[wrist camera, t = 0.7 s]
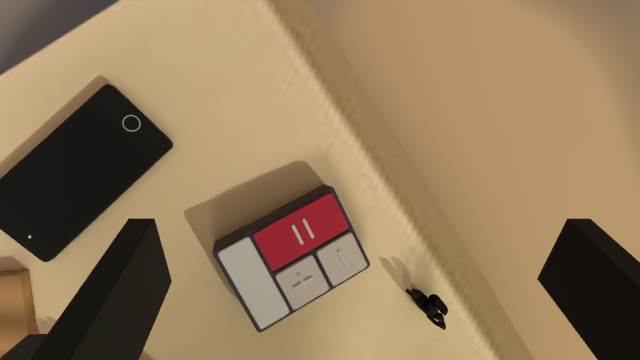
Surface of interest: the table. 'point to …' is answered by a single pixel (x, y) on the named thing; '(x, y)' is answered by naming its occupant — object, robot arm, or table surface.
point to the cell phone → (78, 172)
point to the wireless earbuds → (430, 306)
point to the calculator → (291, 256)
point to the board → (15, 309)
